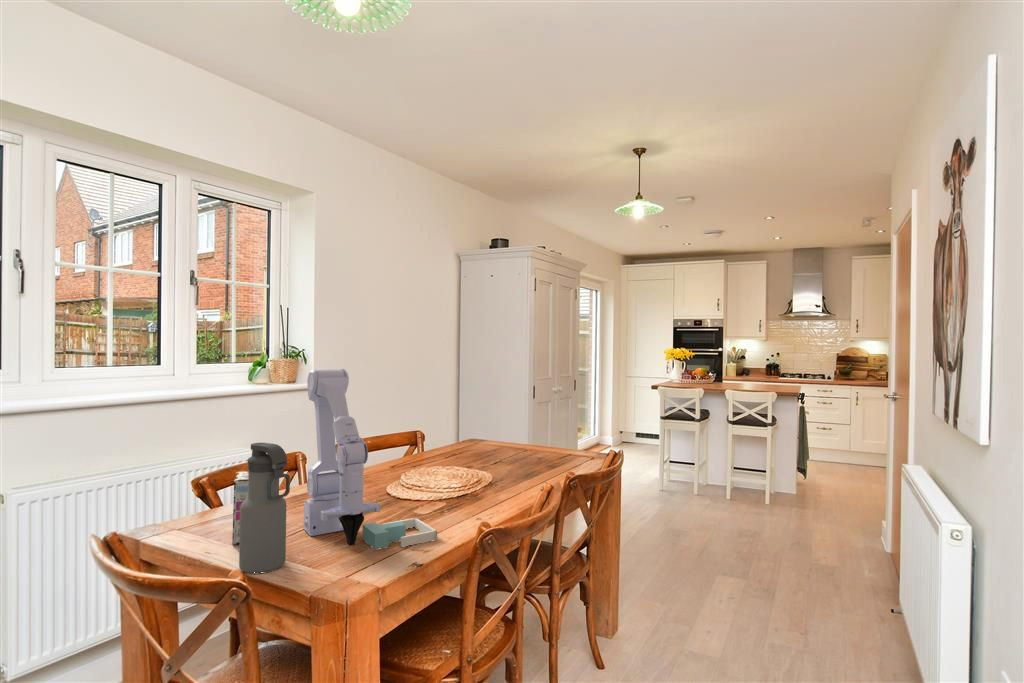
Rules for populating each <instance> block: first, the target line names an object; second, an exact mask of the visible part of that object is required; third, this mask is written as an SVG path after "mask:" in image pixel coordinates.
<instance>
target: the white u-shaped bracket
mask: <svg viewBox="0 0 1024 683" xmlns="http://www.w3.org/2000/svg"><path fill="white" fill-rule="evenodd" d="M399 521H401V522H403V523H404V524H406V530H409V529H408V528H411V529H415V528H416V530H417V529H418V530H419V532H418V533H413V534H408V535H406V536H403V537H401V541H400V546H401V547H403V548H405V547H404V546H408V545H412V546H414V545H413V544H417V543H422V542H427V541H431V542H433V541H432V540H436V541H438V530H437V529H435V528H433V527H432V526H430V525H429V524H427V523H426V522H423V521H422V520H421V519H419V518H417V517H412V518H406V519H402V520H396V521H390V522H385V523H383V524H387V523H393V522H399ZM413 527H415V528H413ZM418 530H417V531H418ZM420 531H421V532H422V533H421V532H420ZM427 543H428V542H427ZM422 544H423V543H422ZM417 545H418V544H417ZM401 547H400V548H401ZM408 547H409V546H408Z"/></svg>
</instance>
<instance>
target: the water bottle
mask: <svg viewBox="0 0 1024 683" xmlns="http://www.w3.org/2000/svg"><path fill="white" fill-rule="evenodd" d="M250 450H251V456H250V457H249V458H247V472H248V498H247V499H246V500H244V501H243V502H242V504H241V506H240V544H238V545H239V548H238V550H239V551H238V552H239V555H238V559H239V561H238V562H239V563H238V566H239V569H240V571H242V570H243V571H245V572H244V573H246V572H247V573H246V574H251V573H254V572H255V573H259V574H262V573H261V572H266V573H269V572H268V571H270V572H273V571H272V570H274V571H275V569H276V570H278V569H280V568H281V567H282V566H284V564H285V562H286V557H287V556H286V551H287V550H286V548H287V546H286V545H287V542H286V541H287V501H286V499H285V497H287V496H288V495H289V493H290V492H291V491H290V490H291V476H290V474H288V473H285V467H287V466H288V456H287V454H286V452H285V450H284V448H282V446H280V445H279V444H276V443H270V442H269V443H268V442H253V443H251V444H250ZM282 478H285V491H284V492H283V493H282V494H280V479H282ZM243 571H242V572H243Z"/></svg>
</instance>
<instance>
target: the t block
mask: <svg viewBox="0 0 1024 683" xmlns="http://www.w3.org/2000/svg"><path fill="white" fill-rule="evenodd" d="M398 521H399V522H395V521H392V522H393V523H389V522H386V523H387V524H384V523H381V524H378V523H377V522H375V521H374V522H369V523H362V524H361V528H362V531H361V532H362V534H361V538H362V539H363V540H364V541H365V542H364V541H363V540H362V539H361V540H362V541H363V542H364V543H366V542H367V543H368V544H369V545H370V546H372V547H373V548H374V549H379V548H384V549H386V548H385V547H388V548H389V544H391V543H390V542H393V543H396V542H395V541H398V542H400V541H399V540H401V537H403V536H407V529H406V524H404V523H403V522H401V521H400V520H398ZM367 543H366V544H367ZM368 544H367V545H368ZM369 545H368V546H369ZM370 546H369V547H370ZM372 547H371V548H372ZM373 548H372V549H373ZM374 549H373V550H374ZM379 550H380V549H379Z"/></svg>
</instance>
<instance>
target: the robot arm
mask: <svg viewBox="0 0 1024 683" xmlns="http://www.w3.org/2000/svg"><path fill="white" fill-rule="evenodd" d="M349 381H350V378H349V373H348V371H347V370H346V369H345V368H341V369H315V368H314V369H311V370H310V371H309V372H308V375H307V381H306V382H307V396H308V400H309V401H312V402H313V404H314V412H315V414H314V415H315V427H316V428H315V429H316V447H317V450H316V451H317V461H316V462H315V464H313V465H312V466H311V467H310V468H309V469H308V470H307V471H308V472H307V481H306V487H307V488H306V489H307V493H308V496H310V498H309V499H306V500H305V501H304V503H303V504H304V505H303V527H302V528H303V529H304V531H305V532H306V533H307V534H308V535H309V537H314V536H319V535H324V534H325V535H326V534H329V533H336V532H341V531H343V532H344V535H345V541H346V544H347V545H348V546H350V547H351V546H355V544H356V540H357V536H358V533H359V530H360V528H361V527H362V524H364V522H365V516H364V514H368V513H374V512H375V513H380V512H381V503H379V502H371V503H369V502H368V503H366V502H365V503H364V474H365V473H364V472H365V471H364V469H365V468H364V466H365V464H366V463H368V462H367V461H368V458H369V449H368V445H367V443H366V441H364V438H362V437H360V433H359V431H358V427H357V424H356V421H355V418H354V417H352V416H350V414H349V408H348V403H347V397H346V393H347V391H348V387H349V385H350V384H349ZM336 444H337V447H336ZM329 471H330V472H329ZM322 472H323V473H322Z"/></svg>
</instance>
